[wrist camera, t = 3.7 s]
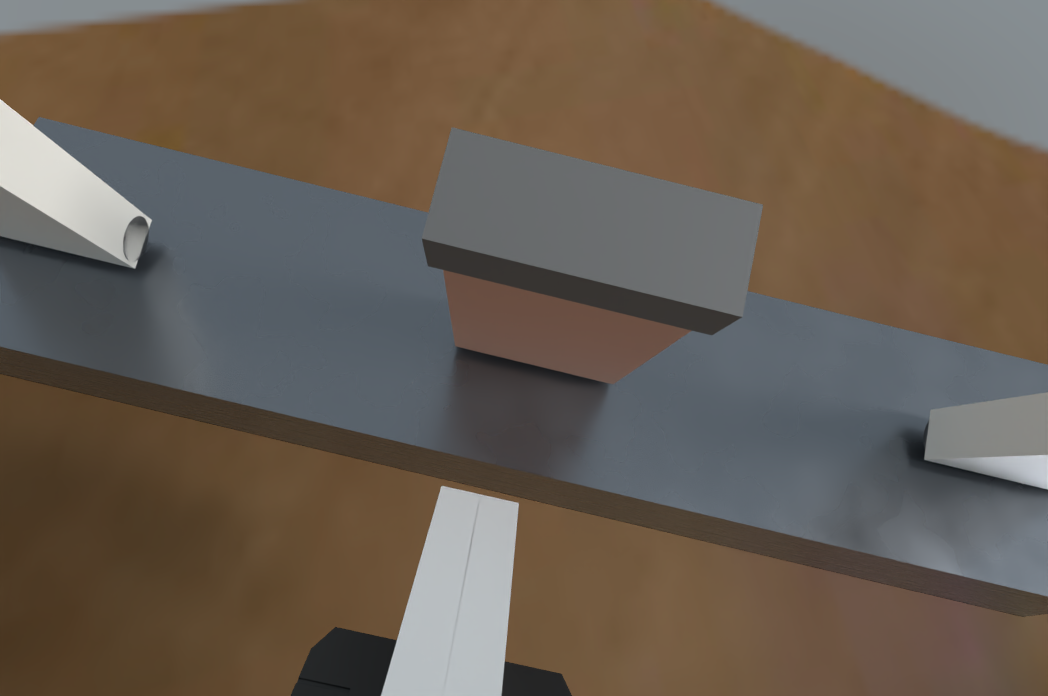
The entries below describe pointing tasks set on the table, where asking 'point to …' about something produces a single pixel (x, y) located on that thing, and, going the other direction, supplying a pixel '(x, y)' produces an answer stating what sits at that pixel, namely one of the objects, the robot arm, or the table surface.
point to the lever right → (993, 438)
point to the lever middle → (581, 257)
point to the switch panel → (524, 383)
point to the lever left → (62, 199)
